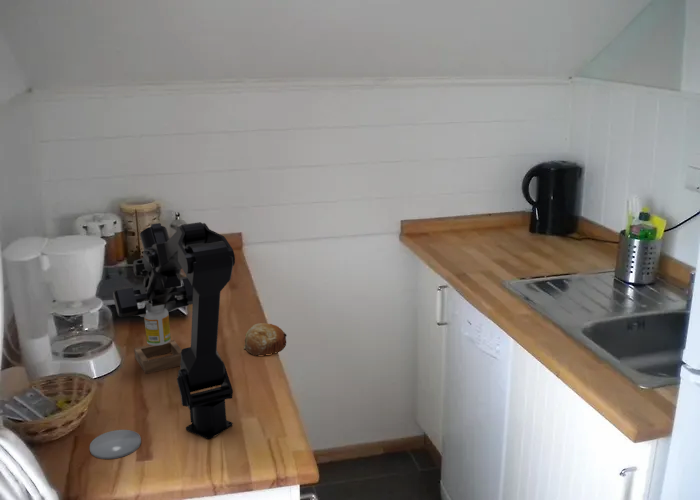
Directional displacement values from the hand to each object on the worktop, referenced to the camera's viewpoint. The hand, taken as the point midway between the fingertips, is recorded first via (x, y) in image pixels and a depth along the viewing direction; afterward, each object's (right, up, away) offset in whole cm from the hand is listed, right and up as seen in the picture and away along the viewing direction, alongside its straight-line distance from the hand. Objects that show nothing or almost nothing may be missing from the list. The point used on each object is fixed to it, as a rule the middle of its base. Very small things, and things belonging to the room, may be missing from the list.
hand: (154, 312), depth 166 cm
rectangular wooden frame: (+1, -11, +2) cm, 12 cm away
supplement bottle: (+1, -7, +1) cm, 7 cm away
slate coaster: (+1, -22, -32) cm, 39 cm away
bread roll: (+24, -9, +9) cm, 28 cm away
